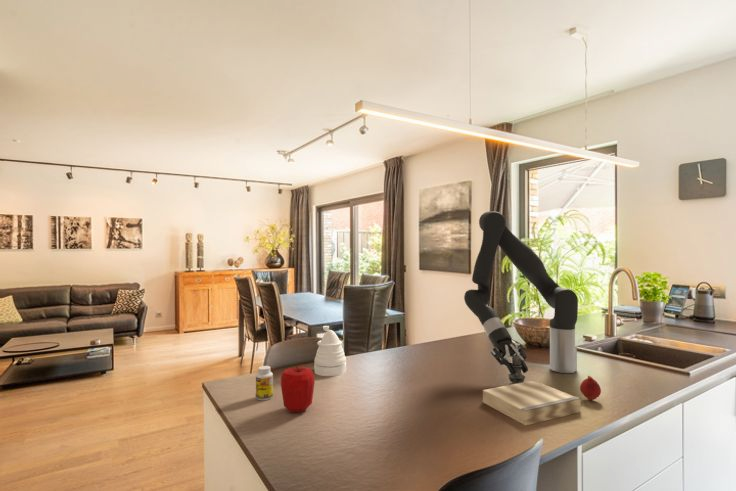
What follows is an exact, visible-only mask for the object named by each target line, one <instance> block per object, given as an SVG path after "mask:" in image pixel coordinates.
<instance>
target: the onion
mask: <svg viewBox="0 0 736 491" xmlns="http://www.w3.org/2000/svg"><path fill="white" fill-rule="evenodd" d="M579 386H580V387H579V390H580V393H581V394H582V395H583V396H584V397H585V398H586V399H587V400H588V401H589V402H590V401H593V400H596V399H598V397H600V396H601V393H602V390H601V386H600V384H599V383H598V382H597V380H595V379H594V378H593V377H592V376H591V375H587V378H585V379H584V380H583V381H582V382H581V384H580V385H579Z"/></svg>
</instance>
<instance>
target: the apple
mask: <svg viewBox="0 0 736 491" xmlns="http://www.w3.org/2000/svg"><path fill="white" fill-rule="evenodd" d="M314 374H315V372H313V370H311V369H310V368H309V367H305V366H303V367H302V366H299V367H298V366H295V367H291V368H290V367H288V368H287V369H284V371H283V373H282V374H281V375H280V376H281V377H280V388H281V394H282V400H283V401H282V402H283V407H284V408H285V409H286V410H287V411H288V412H290V413H301V412H304V411H306V410H307V409H308V408H309V407H310V406H311V405H312V403H313V396H314V391H315V390H314V389H315V375H314Z"/></svg>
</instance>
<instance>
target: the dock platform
mask: <svg viewBox="0 0 736 491" xmlns="http://www.w3.org/2000/svg"><path fill="white" fill-rule="evenodd" d="M482 403H483V404H485V405H487V406H489V407H490V408H493V409H494V410H496V411H498V412H499V413H502V414H503V415H505V416H507V417H509V418H511V419H513V420H514V421H516V422H518V423H521V424H522V425H523V426H529V425H530V426H531V425H534V424H538V423H542V422H545V421H549V420H554V419H558V418H561V417H566V416H570V415H574V414H579V413H581V398H580V397H578V396H575V395H573V394H569V393H567V392H565V391H561V390H559V389H557V388H554V387H551V386H549V385H547V384H544V383H542V382H540V381H539V382H538V381H536V380H535V379H534V380H528V381H524V382H523V383H517V384H512V385H509V384H507V385H503V386H497V387H491V388H486V389H482Z"/></svg>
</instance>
